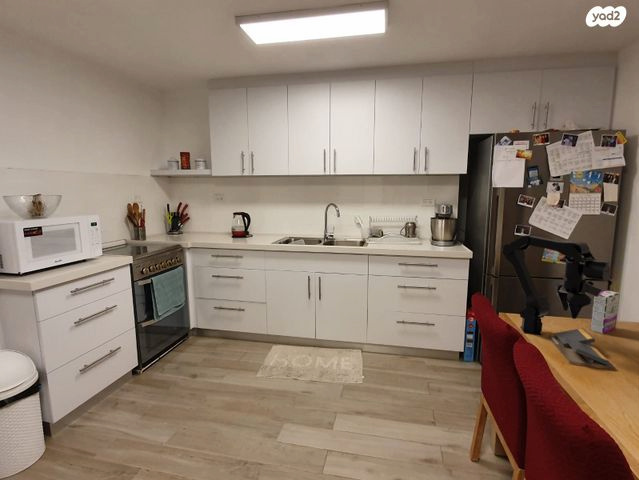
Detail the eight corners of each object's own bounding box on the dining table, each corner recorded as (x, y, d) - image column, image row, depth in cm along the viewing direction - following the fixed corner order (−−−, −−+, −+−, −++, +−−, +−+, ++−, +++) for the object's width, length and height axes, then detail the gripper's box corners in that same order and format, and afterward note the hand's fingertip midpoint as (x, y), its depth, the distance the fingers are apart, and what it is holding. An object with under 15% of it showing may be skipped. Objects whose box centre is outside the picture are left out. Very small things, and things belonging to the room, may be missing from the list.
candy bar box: (601, 325, 150) (606, 289, 147) (615, 329, 145) (620, 293, 143) (588, 330, 145) (593, 293, 142) (602, 334, 140) (608, 296, 138)
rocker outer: (575, 351, 116) (577, 348, 116) (564, 339, 125) (566, 336, 125) (607, 365, 113) (609, 361, 113) (594, 351, 123) (596, 348, 122)
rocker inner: (564, 347, 126) (563, 343, 126) (555, 336, 136) (554, 333, 136) (595, 342, 123) (594, 338, 123) (584, 331, 132) (582, 327, 132)
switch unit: (569, 363, 117) (569, 357, 116) (548, 337, 137) (549, 332, 137) (615, 370, 112) (615, 363, 112) (586, 342, 133) (587, 336, 133)
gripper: (611, 283, 115) (606, 326, 117) (589, 271, 133) (585, 309, 135) (573, 280, 119) (568, 322, 121) (556, 269, 136) (552, 305, 139)
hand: (569, 314), depth 129 cm, fingers open, 9 cm apart
